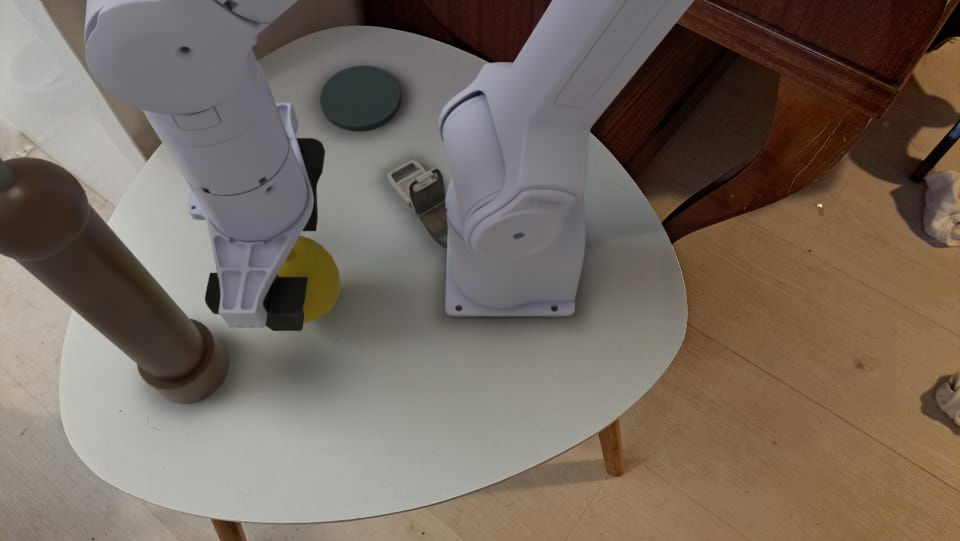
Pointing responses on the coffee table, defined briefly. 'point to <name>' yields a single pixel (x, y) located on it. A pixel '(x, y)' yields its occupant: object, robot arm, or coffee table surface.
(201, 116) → the robot arm
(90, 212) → the pepper mill
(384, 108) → the coaster
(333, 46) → the coffee table surface
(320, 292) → the lemon
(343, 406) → the coffee table surface
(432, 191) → the strap clip
